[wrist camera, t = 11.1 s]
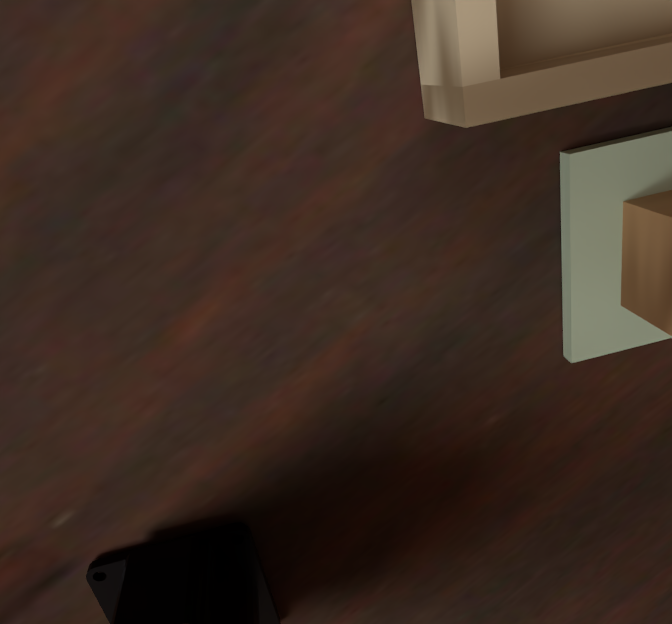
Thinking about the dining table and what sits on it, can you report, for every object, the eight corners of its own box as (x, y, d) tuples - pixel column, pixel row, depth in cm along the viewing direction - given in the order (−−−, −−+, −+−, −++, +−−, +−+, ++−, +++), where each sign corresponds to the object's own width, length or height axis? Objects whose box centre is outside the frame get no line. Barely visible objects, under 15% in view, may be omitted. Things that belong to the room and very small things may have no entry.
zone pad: (748, 309, 23) (761, 315, 22) (563, 356, 22) (571, 363, 21) (776, 103, 19) (792, 103, 19) (559, 151, 19) (569, 154, 18)
